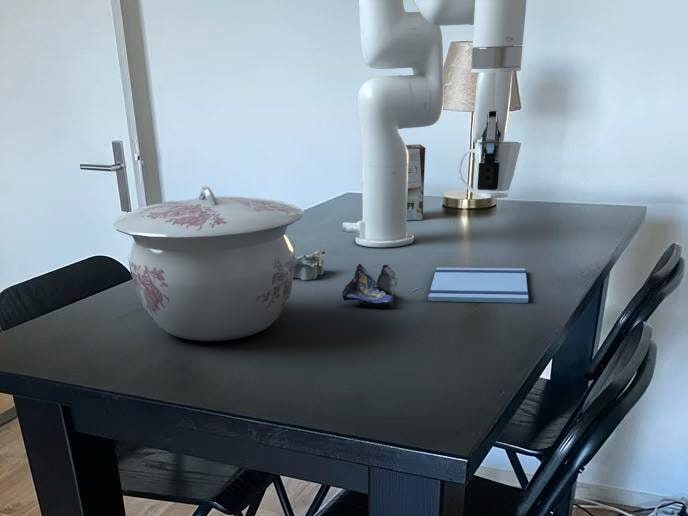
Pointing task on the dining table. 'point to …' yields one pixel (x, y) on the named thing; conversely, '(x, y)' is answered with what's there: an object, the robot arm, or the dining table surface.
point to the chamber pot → (212, 263)
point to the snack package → (372, 287)
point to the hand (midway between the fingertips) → (487, 185)
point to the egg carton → (309, 265)
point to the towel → (479, 285)
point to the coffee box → (415, 181)
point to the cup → (506, 168)
